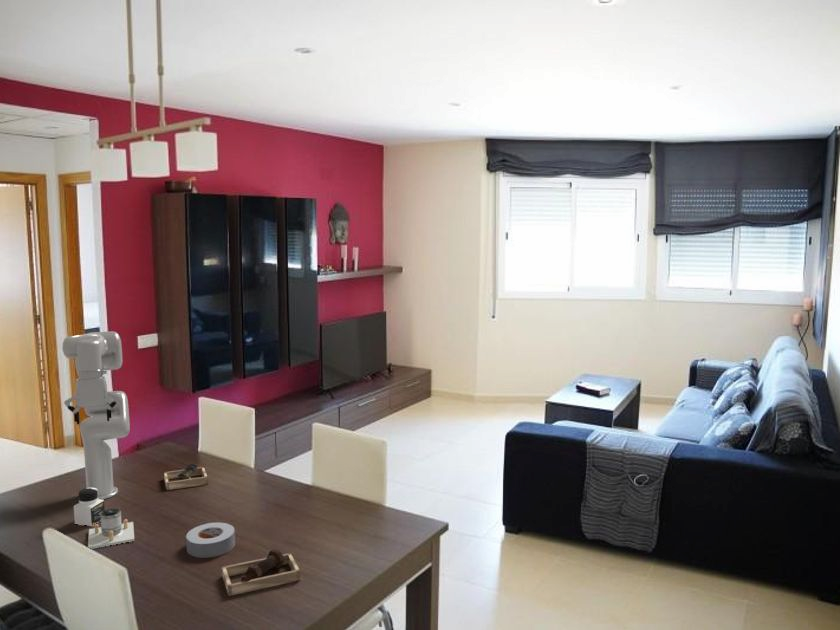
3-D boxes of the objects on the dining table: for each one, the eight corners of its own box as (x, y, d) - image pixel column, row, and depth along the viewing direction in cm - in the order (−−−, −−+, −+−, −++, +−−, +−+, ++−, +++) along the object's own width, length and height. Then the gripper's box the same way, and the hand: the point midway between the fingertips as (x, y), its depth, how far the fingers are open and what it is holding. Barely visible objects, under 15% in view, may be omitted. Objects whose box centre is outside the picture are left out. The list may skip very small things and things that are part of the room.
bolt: (242, 591, 192) (276, 568, 206) (253, 587, 190) (286, 563, 203) (234, 573, 193) (268, 551, 206) (244, 568, 191) (278, 546, 204)
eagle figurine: (196, 481, 270) (201, 470, 279) (185, 469, 268) (190, 457, 276) (181, 491, 271) (186, 479, 279) (170, 478, 269) (176, 467, 277)
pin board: (89, 531, 228) (88, 520, 227) (133, 524, 234) (132, 513, 233) (88, 549, 215) (87, 537, 215) (134, 541, 221) (133, 529, 221)
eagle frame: (164, 479, 276) (163, 472, 275) (204, 473, 282) (203, 466, 282) (166, 490, 264) (166, 483, 263) (208, 484, 271) (207, 477, 270)
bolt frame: (222, 576, 200) (221, 566, 199) (290, 561, 208) (290, 552, 208) (228, 596, 189) (228, 586, 188) (300, 580, 198) (300, 570, 197)
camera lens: (108, 538, 220) (107, 516, 219) (97, 534, 224) (96, 512, 223) (125, 531, 225) (124, 510, 224) (115, 527, 229) (114, 505, 228)
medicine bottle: (92, 526, 232) (90, 494, 230) (74, 524, 233) (72, 492, 232) (105, 518, 239) (103, 486, 237) (88, 516, 240) (86, 484, 239)
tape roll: (190, 562, 208) (189, 547, 207) (183, 542, 221) (182, 527, 221) (239, 551, 215) (239, 537, 214) (230, 532, 228) (229, 518, 228)
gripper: (117, 370, 238) (120, 416, 240) (63, 374, 231) (66, 421, 233) (117, 374, 231) (120, 421, 234) (61, 379, 224) (65, 427, 226)
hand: (93, 421), depth 233 cm, fingers open, 9 cm apart
